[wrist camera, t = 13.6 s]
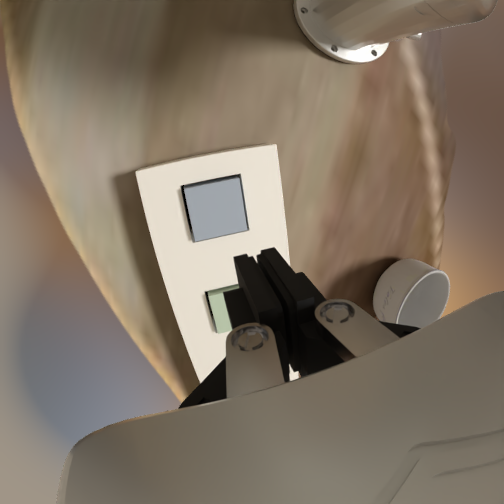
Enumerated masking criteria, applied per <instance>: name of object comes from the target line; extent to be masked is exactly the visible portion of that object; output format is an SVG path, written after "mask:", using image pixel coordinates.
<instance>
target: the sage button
mask: <svg viewBox="0 0 504 504" xmlns="http://www.w3.org/2000/svg"><path fill="white" fill-rule="evenodd" d="M237 288H239V284H235V285H230V286H226V287H222V288H218V289H213V290H209V291H207V292H208V297H209V301H210V305H211V308H212V312H213V316H214V320H215V324H216V327H217V331H218V334H220V333H224V332H228V331H232V327H231V324H230V320H229V316H228V312H227V308H226V304H225V300H224V296H223V292H225V291H229V290H233V289H237Z"/></svg>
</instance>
